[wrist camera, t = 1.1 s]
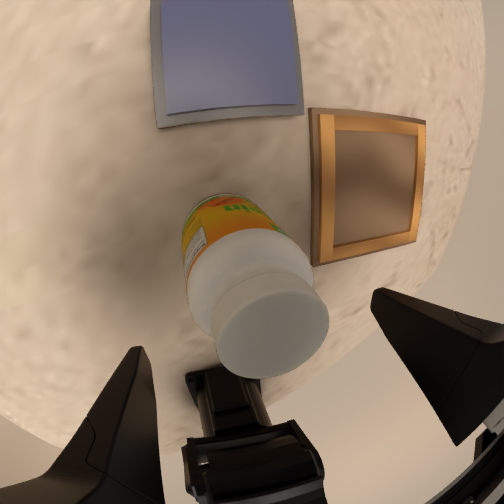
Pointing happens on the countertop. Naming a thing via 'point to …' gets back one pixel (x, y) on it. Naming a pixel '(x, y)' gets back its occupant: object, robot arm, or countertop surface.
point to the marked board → (364, 182)
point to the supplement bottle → (250, 288)
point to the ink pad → (224, 60)
